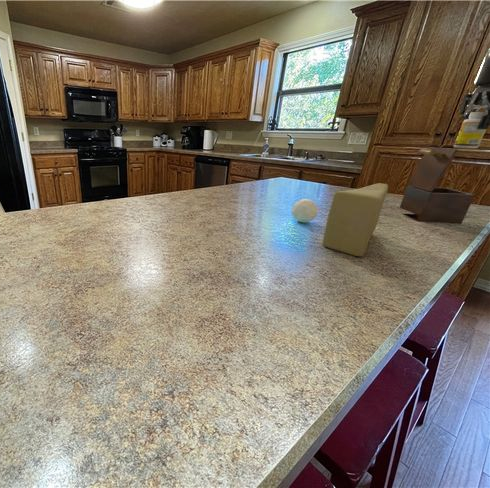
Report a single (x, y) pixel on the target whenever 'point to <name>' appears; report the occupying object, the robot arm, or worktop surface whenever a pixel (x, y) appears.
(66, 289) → the worktop surface
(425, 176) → the lid
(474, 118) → the supplement bottle
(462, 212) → the chest
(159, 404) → the worktop surface
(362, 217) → the cheese
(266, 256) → the worktop surface
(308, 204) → the ball
